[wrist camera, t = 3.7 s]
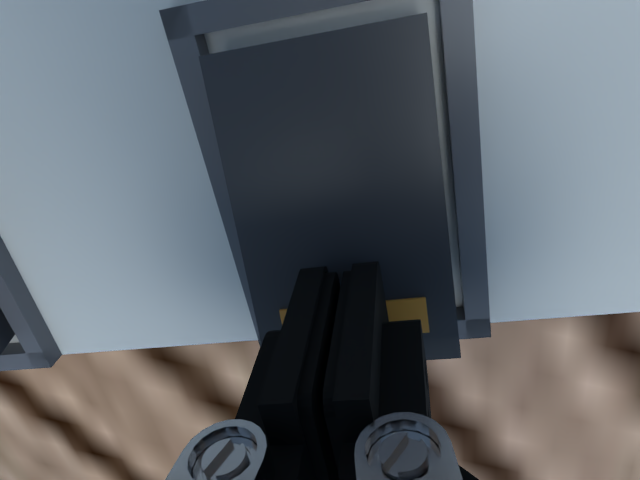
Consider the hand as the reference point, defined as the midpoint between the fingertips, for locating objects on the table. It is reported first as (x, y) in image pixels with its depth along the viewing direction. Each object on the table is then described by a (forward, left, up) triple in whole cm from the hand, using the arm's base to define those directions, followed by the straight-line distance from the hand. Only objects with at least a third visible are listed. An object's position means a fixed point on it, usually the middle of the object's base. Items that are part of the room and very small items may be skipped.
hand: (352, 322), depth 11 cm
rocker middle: (-2, 0, -1) cm, 3 cm away
